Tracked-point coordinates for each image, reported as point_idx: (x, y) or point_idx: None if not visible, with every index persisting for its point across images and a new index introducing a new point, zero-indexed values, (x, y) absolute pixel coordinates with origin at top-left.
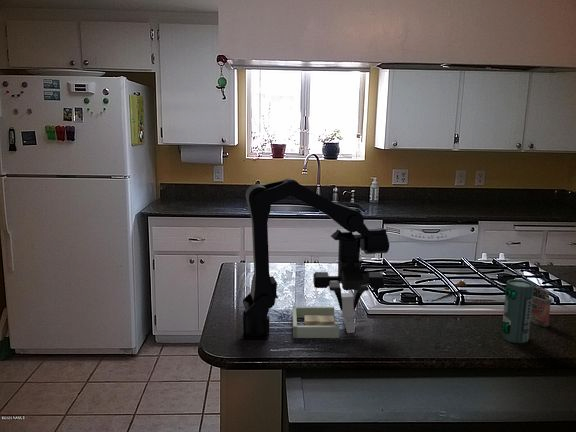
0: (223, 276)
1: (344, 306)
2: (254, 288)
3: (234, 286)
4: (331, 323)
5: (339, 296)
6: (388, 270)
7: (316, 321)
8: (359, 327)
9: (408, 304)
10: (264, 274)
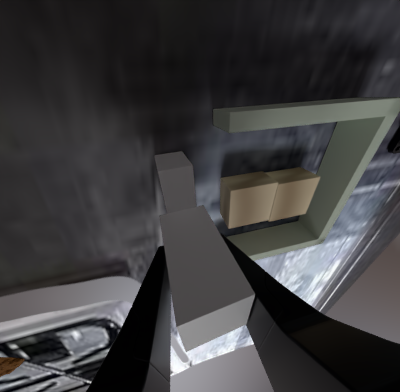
0: (337, 300)
1: (215, 244)
2: None
3: (338, 286)
4: (238, 185)
5: (273, 297)
6: None
7: (287, 182)
8: (141, 202)
9: (31, 334)
10: None
